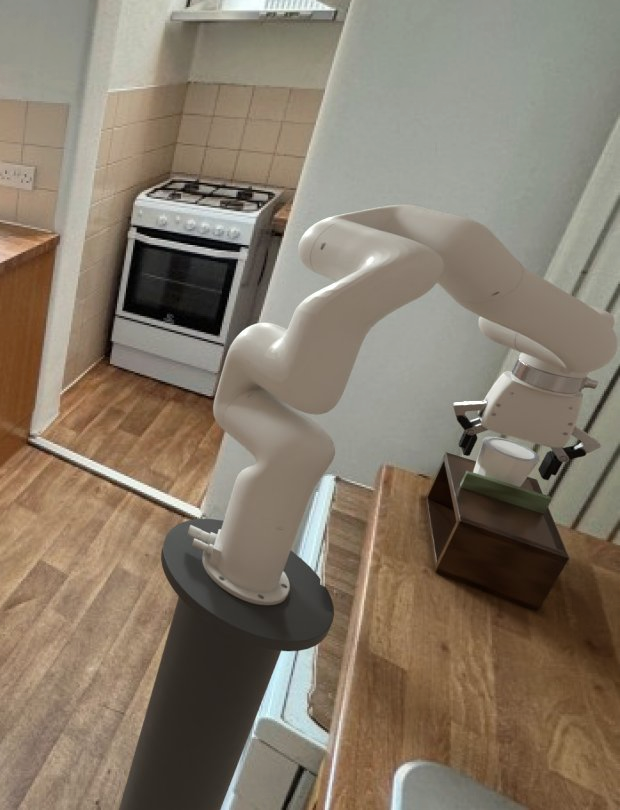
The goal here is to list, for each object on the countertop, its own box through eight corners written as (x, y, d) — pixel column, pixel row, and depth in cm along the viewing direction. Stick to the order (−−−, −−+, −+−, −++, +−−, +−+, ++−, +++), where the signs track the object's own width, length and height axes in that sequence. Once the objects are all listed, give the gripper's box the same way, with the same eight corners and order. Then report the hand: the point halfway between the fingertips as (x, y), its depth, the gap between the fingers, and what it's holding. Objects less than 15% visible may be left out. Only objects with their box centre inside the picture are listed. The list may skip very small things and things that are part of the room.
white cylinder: (471, 484, 103) (488, 451, 100) (464, 463, 108) (479, 431, 105) (527, 501, 99) (545, 467, 97) (516, 478, 104) (533, 445, 102)
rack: (435, 572, 99) (467, 505, 94) (424, 498, 115) (451, 438, 110) (538, 612, 92) (578, 542, 87) (511, 528, 108) (544, 465, 103)
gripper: (619, 385, 94) (570, 473, 100) (470, 351, 104) (434, 433, 110) (636, 406, 88) (582, 498, 94) (477, 367, 98) (438, 453, 104)
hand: (502, 463), depth 102 cm, fingers open, 9 cm apart
